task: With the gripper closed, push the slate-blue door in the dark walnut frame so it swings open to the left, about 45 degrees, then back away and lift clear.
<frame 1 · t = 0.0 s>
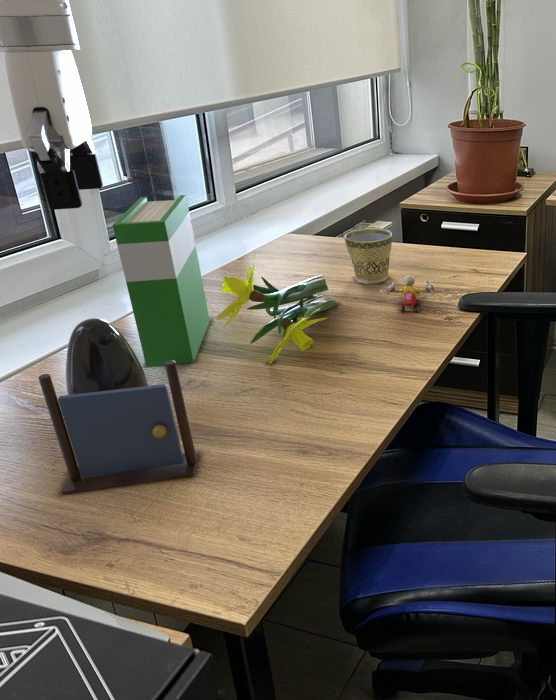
hand: (78, 197, 81), 33 cm above the table, tool pointing down, fingers open, 9 cm apart
door: (122, 434, 85), point 7 cm above the table, hinge at 0.0°
toy airplane: (411, 306, 138), on the table
door frame: (77, 483, 87), on the table
dark grey rounded dome: (116, 418, 101), on the table
hardback book: (180, 345, 124), on the table
ceramic cup: (376, 278, 153), on the table
daffodil flowers: (291, 337, 126), on the table
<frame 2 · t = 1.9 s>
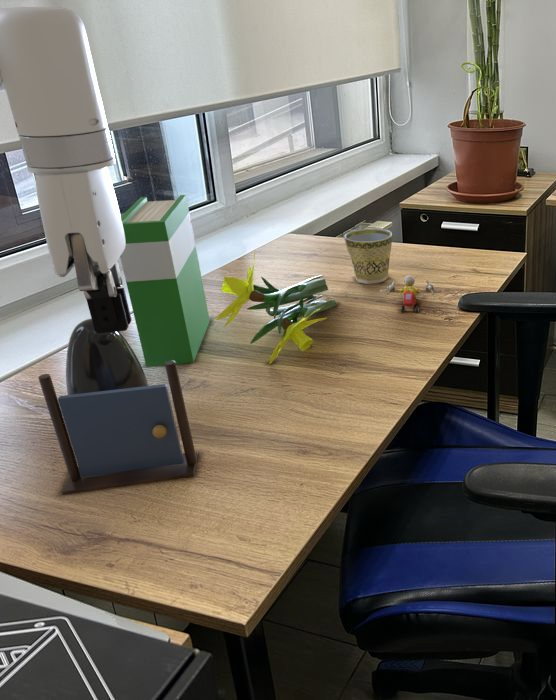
hand: (114, 327, 75), 22 cm above the table, tool pointing down, fingers closed
nothing on the table moved.
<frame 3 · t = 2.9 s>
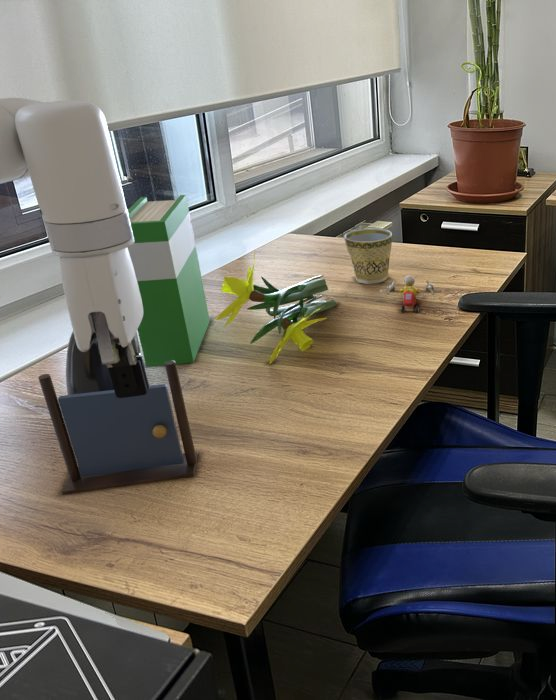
hand: (133, 392, 78), 14 cm above the table, tool pointing down, fingers closed
nothing on the table moved.
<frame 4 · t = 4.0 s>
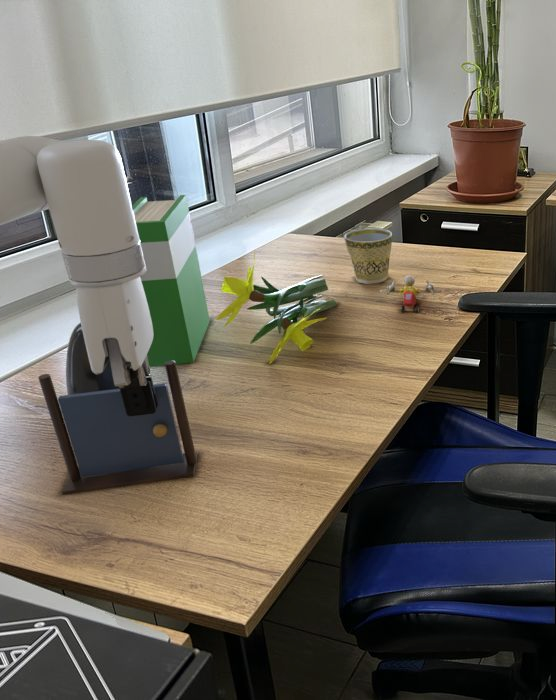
hand: (143, 411, 83), 10 cm above the table, tool pointing down, fingers closed
door: (122, 433, 85), point 7 cm above the table, hinge at 1.2°, touching gripper
everything else where it was.
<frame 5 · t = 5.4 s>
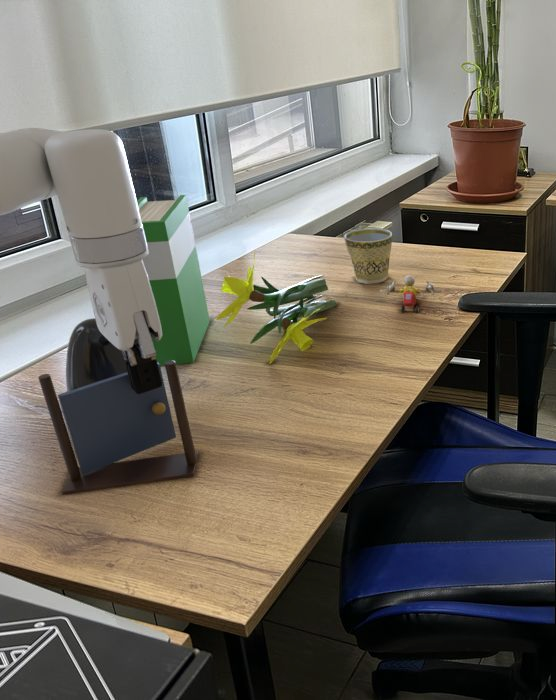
hand: (147, 388, 87), 10 cm above the table, tool pointing down, fingers closed
door: (123, 419, 88), point 7 cm above the table, hinge at 31.4°, touching gripper
everything else where it was.
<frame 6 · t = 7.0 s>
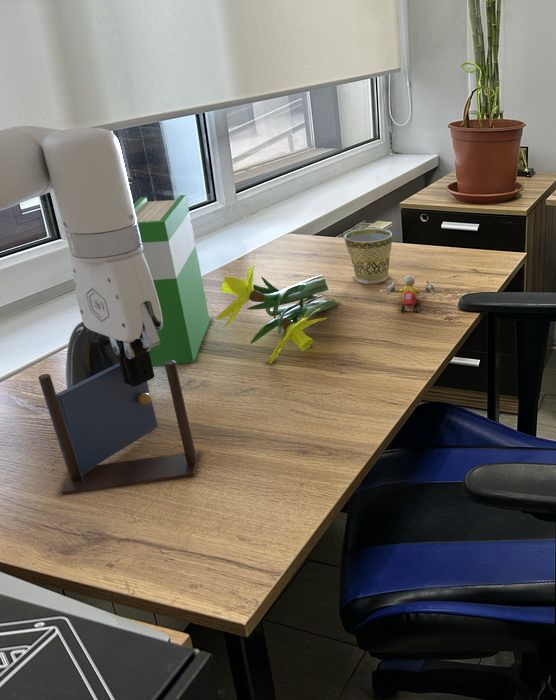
hand: (140, 380, 89), 10 cm above the table, tool pointing down, fingers closed
door: (115, 413, 89), point 7 cm above the table, hinge at 51.7°
everything else where it was.
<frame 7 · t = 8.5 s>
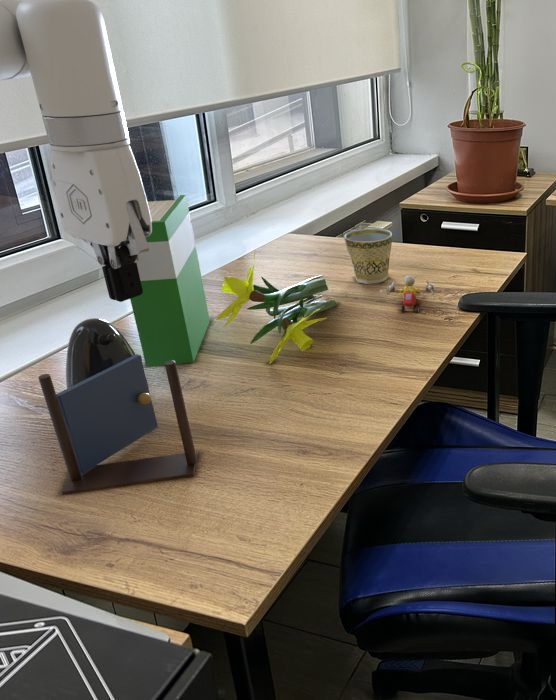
hand: (126, 296, 81), 23 cm above the table, tool pointing down, fingers closed
nothing on the table moved.
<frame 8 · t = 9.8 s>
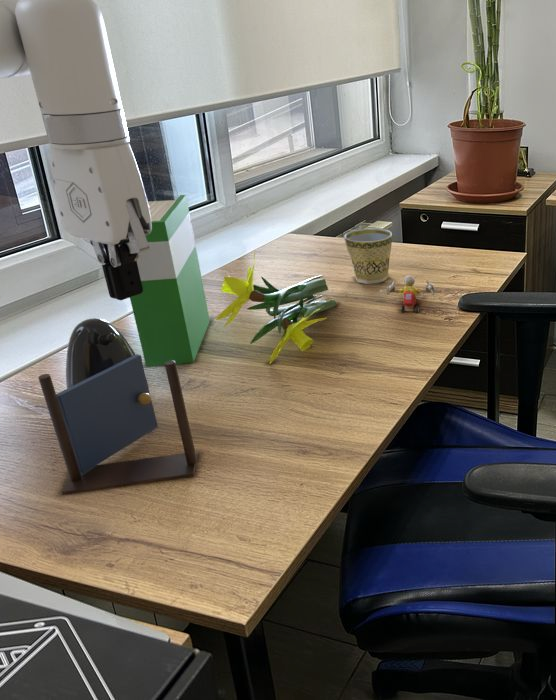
hand: (127, 295, 81), 23 cm above the table, tool pointing down, fingers closed
nothing on the table moved.
at the end: door at +52° (first picture: +0°); dark grey rounded dome moved 0.2 cm from its start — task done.
